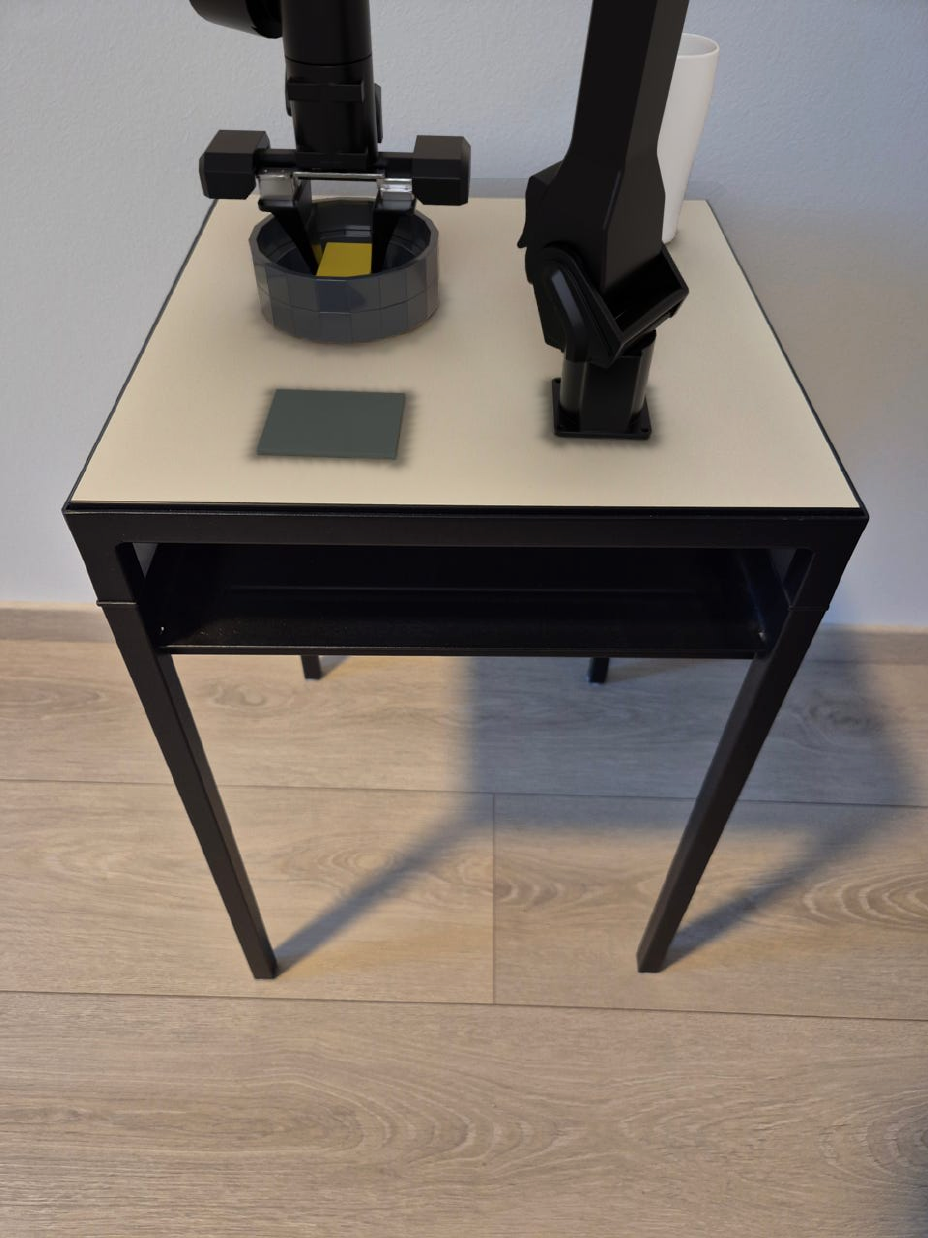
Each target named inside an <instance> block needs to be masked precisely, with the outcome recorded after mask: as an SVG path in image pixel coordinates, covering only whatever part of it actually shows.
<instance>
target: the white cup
mask: <svg viewBox="0 0 928 1238" xmlns="http://www.w3.org/2000/svg"><path fill="white" fill-rule="evenodd" d="M720 51H721V48H720V45H719V43H718V42H716V41H715V40H713V39H711V38H708V37H706V36H703V35H699V34H694V33H688V32H682V36H681V41H680V45H679V50H678V54H677V59H676V63H675V67H674V72H673V76H672V81H671V85H670V90H669V94H668V99H667V103H666V107H665V112H664V116H663V121H662V125H661V130H660V134H659V139H658V146H657V156H658V161H659V165H660V170H661V175H662V179H663V184H664V189H665V194H666V199H665V210H664V222H663V233H662V241H663V243H664V244H665V245H666V244H668V243H670V242H671V241H672V240H673V239H674V237H676V234H677V228H678V224H679V221H680V220H679V219H680V215H681V210H682V208H683V204H684V199H685V196H686V192H687V188H688V185H689V181H690V178H691V174H692V171H693V167H694V164H695V161H696V156H697V154H698V153H697V152H698V149H699V145H700V141H701V138H702V135H703V131H704V127H705V124H706V120H707V118H708V117H707V116H708V113H709V109H710V105H711V101H712V97H713V92H714V87H715V81H716V75H717V70H718V63H719V57H720Z"/></svg>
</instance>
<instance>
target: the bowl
mask: <svg viewBox="0 0 928 1238" xmlns="http://www.w3.org/2000/svg"><path fill="white" fill-rule="evenodd" d="M375 199H376V197H365V196H364V197H363V196H362V197H361V196H335V197H326V198H317V199H312V204H313V209H314V214H315V219H316V224H317V229H318V234H319V239H320V244H321V249H322V254H323V253H324V250H325V247H326V244H327V243H328V242H331V243H363V244H372V223H373V207H374V203H375ZM247 240H248V247H249V252H250V258H251V265H252V270H253V276H254V281H255V288H256V293H257V300H258V303H259V309H260V311H261V315H262V316H263V317H264V318H266V320H267V321H268V322H269V323H270V324H271V325H272V326H273V327H274V328H277V329H278V330H280V331H281V332H282V331H283V332H284V333H287V334H289V335H291V336H293V337H296V338H300V339H304V340H309V341H315V342H318V343H324V344H325V343H326V344H363V343H368V342H370V343H371V342H374V341H381V340H385V339H389V338H392V337H394V336H398V335H401V334H404V333H407V332H410V331H411V330H413V329H415V328H416V327H418V326H419V325H421V324H423V323H424V322H426V321H428V320H429V318H430V316H431V315H432V314H433V313H434V312H435V310H436V309H437V308H438V307H439V300H440V291H441V290H440V232H439V230H438V228H437V226H436V224H435V223H434V221H433V219H431V218H430V217H428V216H427V215H426V214H424V213H423V212H421V211H420V210H418V209H416V210H415V213H414V214H413V215H411V216H402V217H400V219H399V221H398V223H397V226H396V228H395V230H394V233H393V235H392V237H391V240H390V242H389V244H388V248H387V251H386V255H385V259H384V263H383V267H382V271H381V272H378V273H373V274H365V275H356V276H348V277H339V276H316V275H313V274H312V272H311V271H310V269H309V267H308V266H307V264H306V262H305V260H304V259H303V257H302V255H301V254H300V252H299V250H298V249H297V247H296V245H295V244H294V242H293V241H292V239H291V238H290V237H289V235H288V234H287V233H286V231H285V230H284V229H283V227H282V226H281V225H280V223H279V222H278V221H277V219H276V218H275V217H274V215H273V214H272V213H270V214H267V215H266V216H265V217H264V218H263V219H262V220H260V221H259V222H258V223H257V224H255V225H254V226H253V229H252V230H251V233H250V235H249V236H248V239H247Z"/></svg>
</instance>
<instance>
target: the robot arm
mask: <svg viewBox="0 0 928 1238" xmlns="http://www.w3.org/2000/svg"><path fill="white" fill-rule="evenodd" d="M188 1H189V3H190V5H191V7H192V8H193V10H194V12H196V13H197V15H198V16H200V18H202V19H203V20H205V21H206V22H208V23H211V24H214V25H216V26H221V27H225V28H228V29H232V30H235V31H239V32H243V33H245V34H250V35H252V36H253V35H254V36H257V37H260V38H264V39H269V40H271V39H272V40H278V39H280V38H281V39H282V46H283V53H284V56H283V57H284V62H285V75H284V99H285V111H286V114H287V116H288V117H290V118H291V122H292V128H293V136H294V137H293V138H294V144H295V148H271V141H270V138H269V136H268V134H267V132H266V130H253V129H252V130H251V129H250V130H249V129H218V130H217V132H216V133H215V134H214V136H213V137H212V139H211V140H210V141H209V143H208V145H207V147H205V149H204V151H203V153H202V154H201V155H200V157H199V159H198V174H199V180H200V184H201V189H202V195H203V196H204V197H205V198H207V199H209V200H235V201H236V200H237V201H246V200H247V199H248V198H249V197H250V196H251V194H252V193H253V192H254V191H255V189H256V187H257V186H258V190H259V198H258V200H257V208H258V210H259V211H260V212H263V213H270V214H273V215H274V217H275V218H276V219H277V221H278V222H279V223H280V225H281V226H282V227H283V229H284V230H285V231H286V233H287V234H288V235H289V237H290V238H291V239H292V241H293V242H294V244H295V245H296V247H297V249H298V250H299V252H300V254H301V255H302V257H303V259H304V260H305V262H306V264H307V266H308V267H309V269H310V271H311V272H312V274H313V275H317V271H318V268H319V265H320V262H321V259H322V256H323V254H322V249H321V244H320V239H319V234H318V229H317V224H316V219H315V214H314V209H313V204H312V200H313V191H312V181H330V182H331V181H333V182H364V183H365V182H366V183H367V182H368V183H376V189H377V191H376V195H375V198H376V199H375V203H374V207H373V223H372V252H371V272H372V274H373V273H378V272H381V271H382V267H383V263H384V259H385V255H386V251H387V248H388V244H389V242H390V240H391V237H392V235H393V233H394V230H395V228H396V226H397V223H398V221H399V219H400V217H402V216H411V215H413V214H414V213H415V210H417V209H416V208H417V204H418V202H420V203H421V205H422V206H435V207H437V206H441V207H443V206H444V207H461V206H464V205H467V204H469V198H470V187H471V186H470V185H471V176H472V175H471V172H472V161H471V160H472V145H471V144H470V143H469V142H468V141H467V139H466V138H465V136H464V135H433V134H416V137H415V142H414V147H413V152H411V151H381V150H379V146H378V145H379V144H382V143H383V139H384V128H383V108H382V107H383V106H382V86H380V85H379V84H378V83H376V82H375V76H374V74H375V73H374V59H373V58H374V57H373V56H374V55H373V39H372V24H371V23H372V21H371V5H370V0H188ZM689 5H690V0H592V1H591V6H590V14H589V20H588V26H587V34H586V38H585V39H586V40H585V46H584V52H583V60H582V65H581V71H580V79H579V85H578V93H577V98H576V105H575V112H574V119H573V124H572V130H571V131H572V132H571V138H570V142H569V145H568V148H567V150H566V153H565V155H564V156H563V158H562V159H561V160H559V161H557V162H555V163H553V164H551V165H549V166H548V167H545V168H544V169H542V170H540V171H538V172H536V173H533V174H532V175H530V176H529V177H528V180H527V183H526V188H525V193H524V196H525V197H524V198H525V199H524V207H525V208H524V211H525V214H524V215H525V216H524V225H523V228H522V233H521V235H520V237H519V239H518V240H517V242H516V247H517V248H518V249H519V250H521V249H524V248H525V252H524V271H525V273H524V274H525V277H526V281H527V283H528V284H529V285H532V288H533V293H534V299H535V301H536V302H535V303H536V307H537V312H538V317H539V321H540V326H541V331H542V335H543V340H544V343H545V344H546V345H547V346H549V347H551V348H554V349H556V350H559V351H560V354H561V353H562V355H563V358H562V359H563V360H562V368H561V377H554V378H552V379H551V383H550V394H551V395H550V396H551V414H552V415H551V416H552V432H553V435H554V436H556V437H559V438H575V439H576V438H580V439H605V440H607V439H608V440H633V441H634V440H637V441H638V440H639V441H647V440H650V439H651V437H652V433H653V429H652V423H651V418H650V412H649V406H648V400H647V396H646V391H647V388H648V387H647V386H648V382H649V376H650V371H651V367H652V366H651V365H652V360H653V356H654V351H655V345H656V340H657V328H658V327H660V326H661V325H662V324H663V323H665V322H666V321H668V320H669V319H672V318H673V317H675V316H676V315H677V314H678V312H679V310H680V309H681V307H682V305H683V304H684V302H685V301H686V299H687V298H688V296H689V294H690V288H689V286H688V284H687V282H686V280H685V278H684V276H683V275H682V273H681V272H680V270H679V267H678V266H677V264H676V262H675V260H674V259H673V257H672V255H671V253H670V252H669V250H668V248H667V247H666V244H664V243H663V241H662V233H663V222H664V210H665V199H666V194H665V189H664V184H663V179H662V175H661V170H660V165H659V161H658V156H657V146H658V139H659V134H660V130H661V125H662V121H663V116H664V112H665V107H666V103H667V99H668V94H669V90H670V85H671V81H672V76H673V72H674V67H675V63H676V59H677V54H678V50H679V45H680V41H681V36H682V33H684V32H683V31H684V27H685V23H686V18H687V15H688V14H687V13H688V10H689ZM257 184H258V185H257Z"/></svg>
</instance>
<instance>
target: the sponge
mask: <svg viewBox="0 0 928 1238" xmlns="http://www.w3.org/2000/svg"><path fill="white" fill-rule="evenodd" d="M371 252H372V244H363V243H331V242H328V243H327V244H326V247H325V250H324V253H323V256H322V259H321V262H320V265H319V268H318V271H317V275H316V276H339V277H348V276H356V275H365V274H372V272H371Z"/></svg>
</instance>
